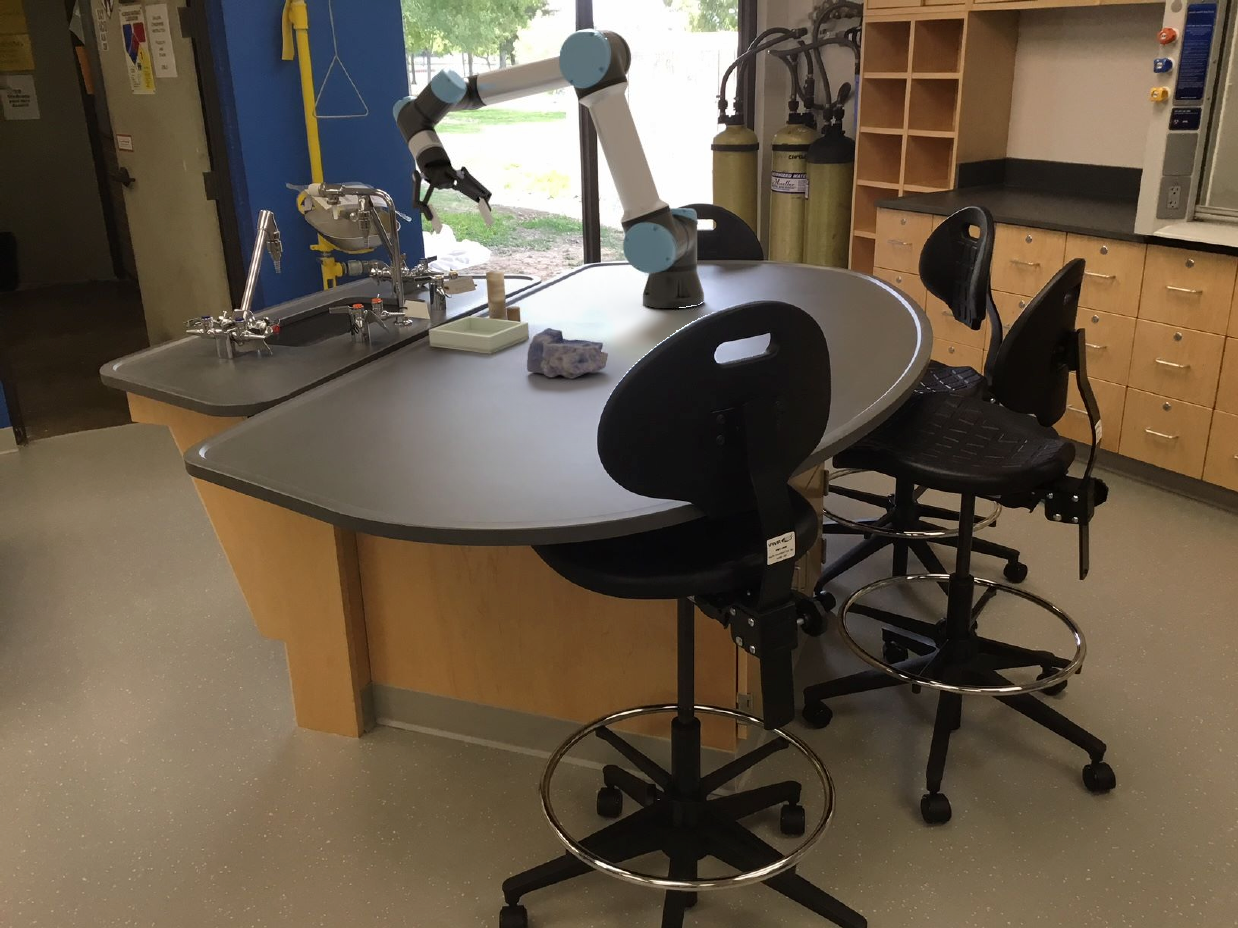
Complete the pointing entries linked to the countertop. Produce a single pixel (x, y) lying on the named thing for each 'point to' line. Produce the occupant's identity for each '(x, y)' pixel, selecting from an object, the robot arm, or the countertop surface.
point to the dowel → (496, 295)
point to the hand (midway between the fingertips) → (466, 227)
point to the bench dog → (513, 313)
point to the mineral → (564, 355)
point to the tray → (479, 334)
